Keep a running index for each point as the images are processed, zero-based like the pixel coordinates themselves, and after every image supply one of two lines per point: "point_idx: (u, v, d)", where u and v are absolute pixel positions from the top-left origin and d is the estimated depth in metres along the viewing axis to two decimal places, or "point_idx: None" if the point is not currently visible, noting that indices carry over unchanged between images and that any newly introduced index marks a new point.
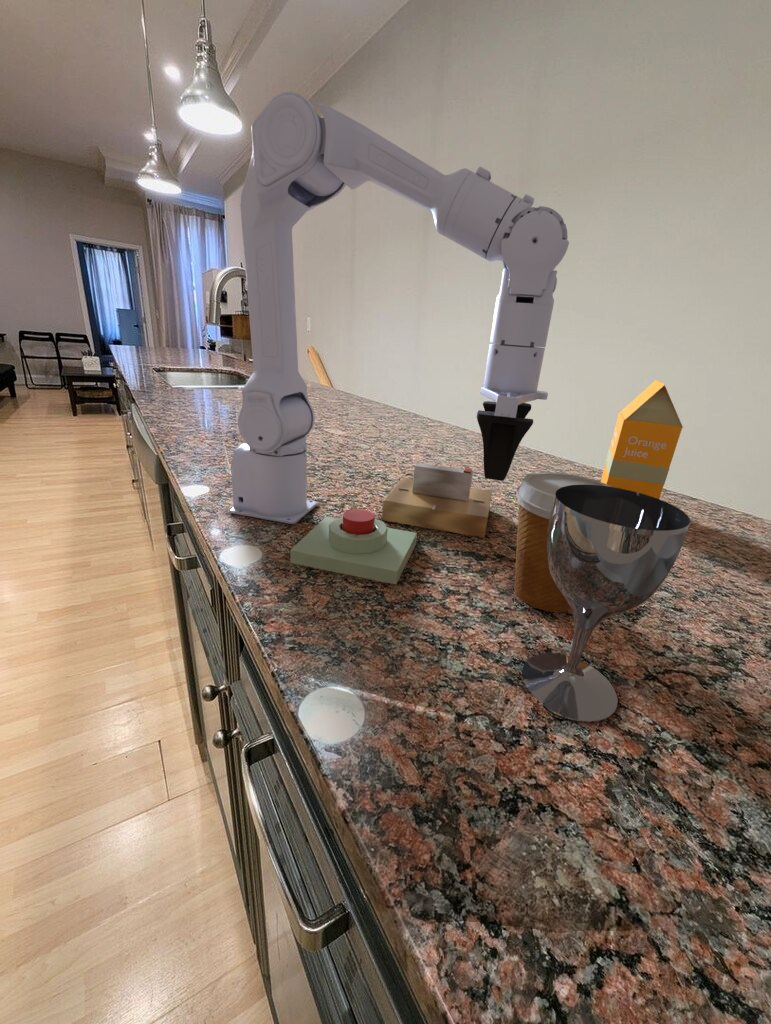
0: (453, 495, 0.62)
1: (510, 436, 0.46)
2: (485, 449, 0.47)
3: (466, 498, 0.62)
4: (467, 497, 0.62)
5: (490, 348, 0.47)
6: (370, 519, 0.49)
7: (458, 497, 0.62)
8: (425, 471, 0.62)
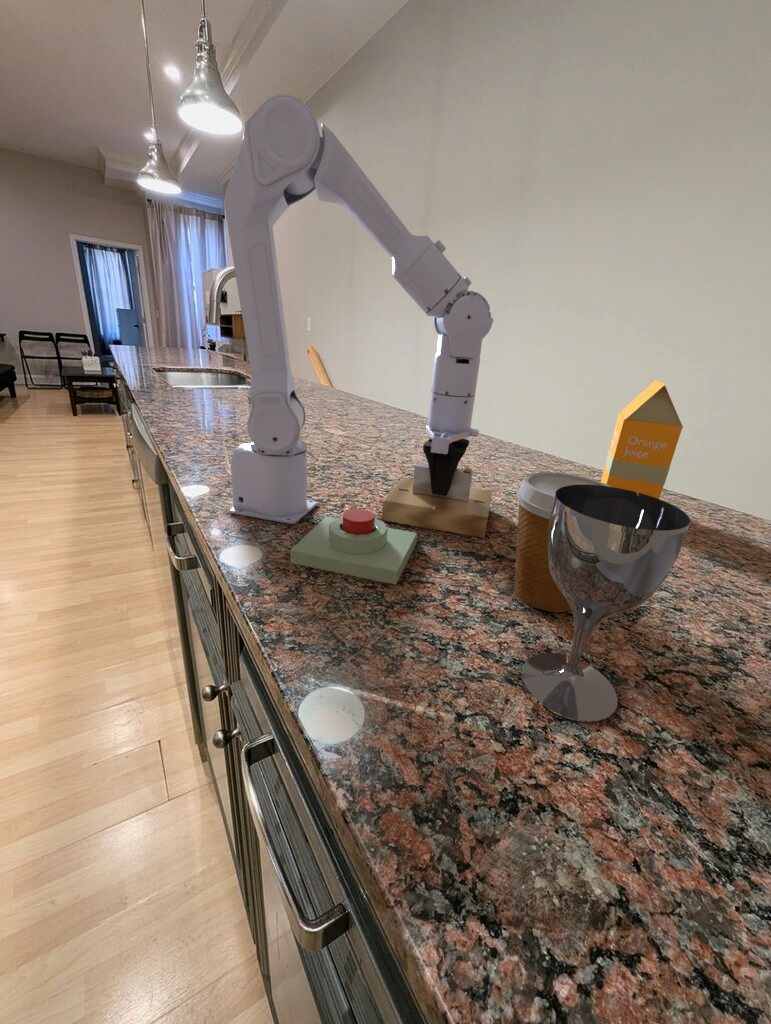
0: (453, 495, 0.62)
1: (449, 461, 0.60)
2: (431, 471, 0.60)
3: (466, 498, 0.62)
4: (467, 497, 0.62)
5: (431, 395, 0.58)
6: (370, 519, 0.49)
7: (458, 497, 0.62)
8: (425, 471, 0.62)
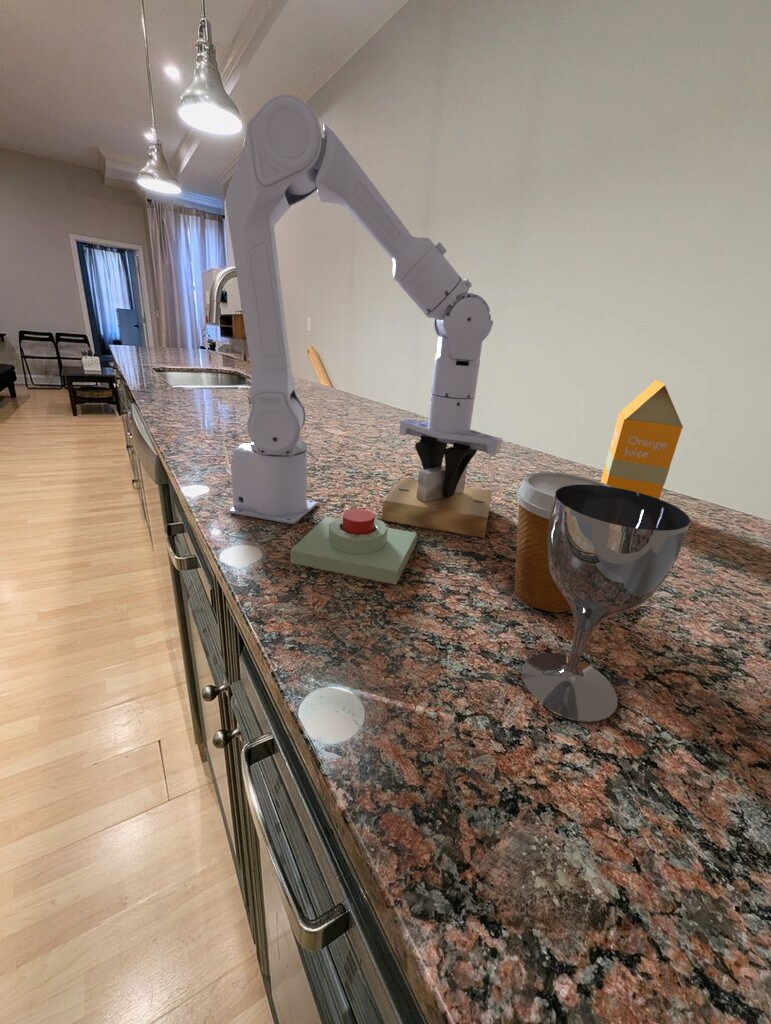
0: None
1: None
2: (453, 476, 0.60)
3: (463, 489, 0.65)
4: (463, 488, 0.65)
5: (449, 401, 0.56)
6: (370, 519, 0.49)
7: (458, 491, 0.64)
8: (436, 476, 0.60)
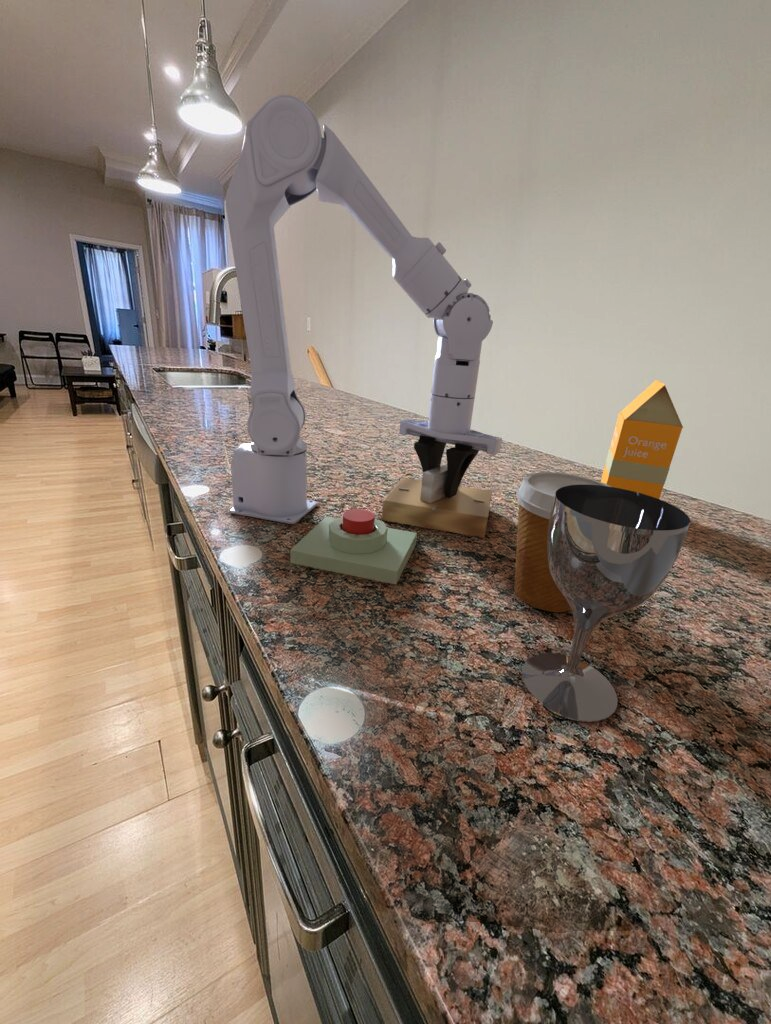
0: None
1: None
2: (455, 477, 0.60)
3: (459, 488, 0.66)
4: (459, 486, 0.66)
5: (449, 401, 0.56)
6: (370, 519, 0.49)
7: None
8: (439, 477, 0.60)
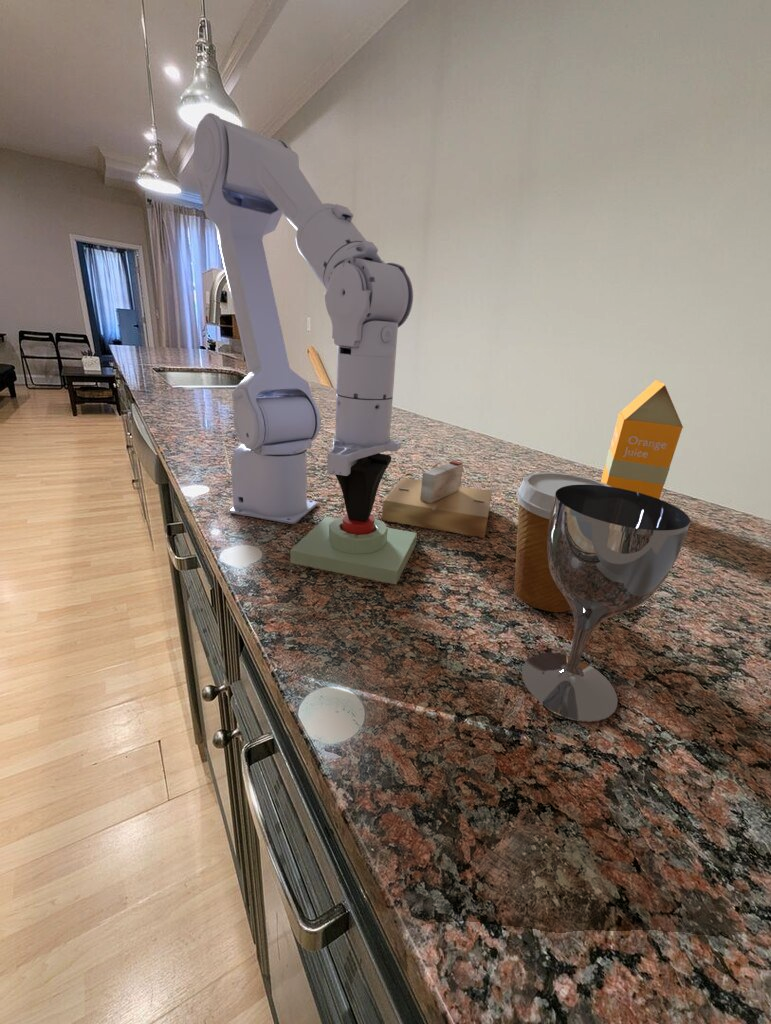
0: (453, 490, 0.64)
1: (366, 480, 0.47)
2: (343, 492, 0.48)
3: (459, 488, 0.66)
4: (459, 486, 0.66)
5: (336, 398, 0.45)
6: (369, 523, 0.49)
7: (455, 489, 0.65)
8: (439, 477, 0.60)
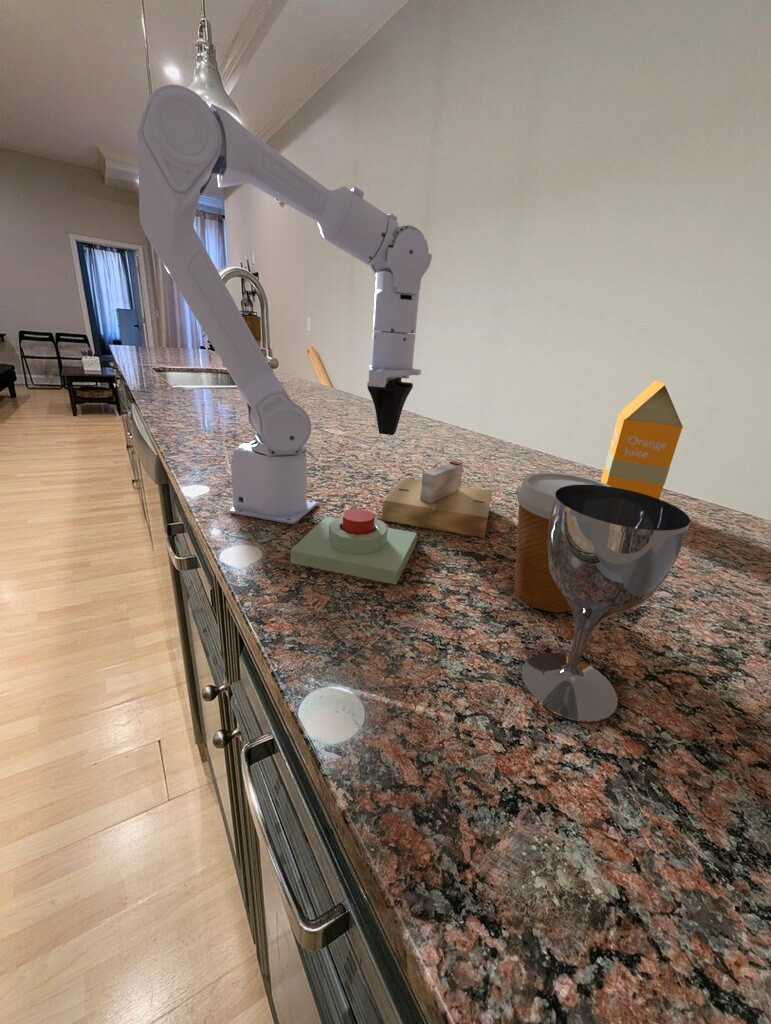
0: (453, 490, 0.64)
1: (394, 400, 0.62)
2: (376, 410, 0.62)
3: (459, 488, 0.66)
4: (459, 486, 0.66)
5: None
6: (370, 519, 0.49)
7: (455, 489, 0.65)
8: (439, 477, 0.60)
